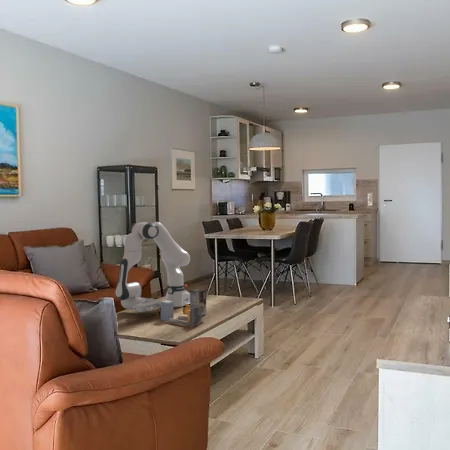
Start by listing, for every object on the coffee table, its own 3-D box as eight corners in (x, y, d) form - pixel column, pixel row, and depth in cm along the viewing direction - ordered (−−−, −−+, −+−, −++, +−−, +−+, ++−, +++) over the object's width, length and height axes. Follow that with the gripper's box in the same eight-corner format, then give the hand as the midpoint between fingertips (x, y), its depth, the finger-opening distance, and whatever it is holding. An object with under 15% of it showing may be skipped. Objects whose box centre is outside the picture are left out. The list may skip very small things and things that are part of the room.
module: (166, 318, 322) (166, 300, 321) (173, 319, 318) (173, 301, 318) (160, 319, 318) (160, 301, 317) (168, 321, 314) (168, 302, 313)
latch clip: (193, 321, 310) (193, 308, 309) (195, 321, 309) (195, 309, 308) (187, 323, 305) (187, 310, 304) (189, 324, 304) (189, 310, 303)
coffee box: (199, 312, 336) (200, 288, 335) (206, 314, 332) (206, 289, 330) (189, 315, 330) (189, 290, 329) (196, 317, 325) (196, 291, 324)
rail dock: (180, 318, 321) (180, 301, 320) (203, 322, 311) (203, 305, 310) (165, 323, 309) (165, 305, 309) (189, 328, 299) (189, 309, 298)
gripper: (129, 302, 321) (146, 305, 313) (152, 297, 338) (168, 299, 330) (130, 312, 322) (146, 315, 314) (152, 306, 338) (168, 309, 330)
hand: (157, 307), depth 322 cm, fingers open, 8 cm apart
